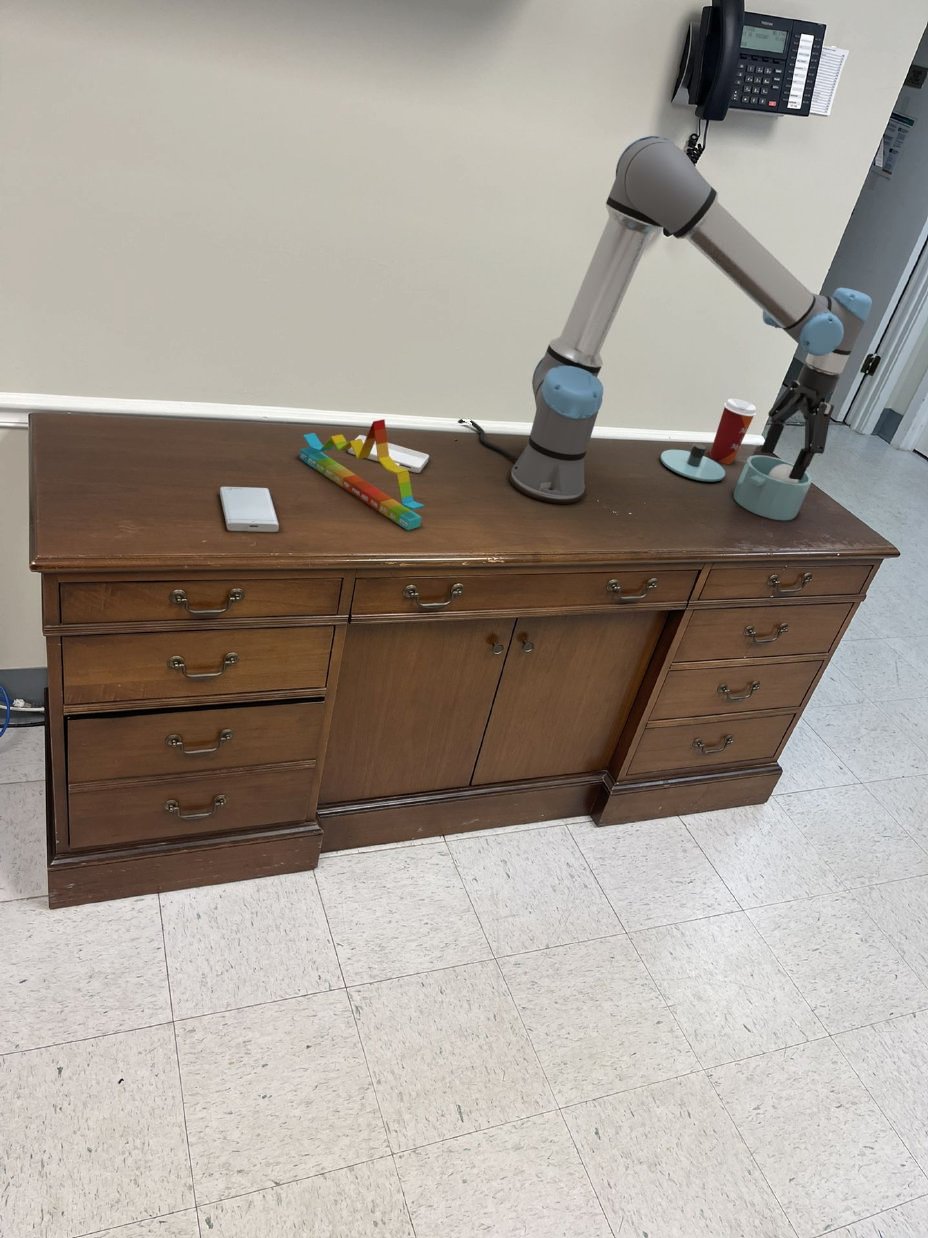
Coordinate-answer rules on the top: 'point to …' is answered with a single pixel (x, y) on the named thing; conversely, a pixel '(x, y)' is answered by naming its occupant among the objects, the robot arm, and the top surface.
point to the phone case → (399, 456)
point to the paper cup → (732, 429)
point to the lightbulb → (782, 473)
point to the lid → (693, 464)
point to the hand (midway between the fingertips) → (780, 465)
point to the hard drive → (248, 509)
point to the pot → (769, 489)
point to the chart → (357, 484)
